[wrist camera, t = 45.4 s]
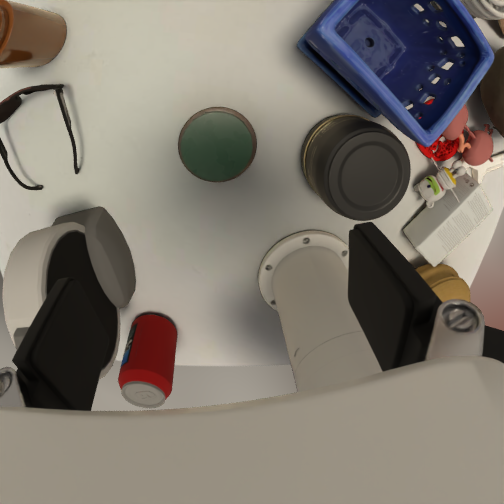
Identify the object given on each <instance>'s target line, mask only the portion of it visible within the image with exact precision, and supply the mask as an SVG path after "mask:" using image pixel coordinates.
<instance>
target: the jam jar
mask: <svg viewBox="0 0 504 504" xmlns="http://www.w3.org/2000/svg"><path fill="white" fill-rule="evenodd" d="M66 32H67V30H66V24H65V21H64V19H63V18H62V17H61V16H60V15H58V14H56V13H53V12H49V11H46V10H43V9H39V8H36V7H32V6H28V5H25V4H21V3H17V2H12V1H8V0H0V69H1V68H17V67H39V66H43V65H45V64H47V63H49V62H50V61H51V60H53V59H54V58H55V57H56V56H57V54H58V53H59V52H60V50H61V48H62V46H63V44H64V42H65V39H66Z"/></svg>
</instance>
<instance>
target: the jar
mask: <svg viewBox="0 0 504 504" xmlns="http://www.w3.org/2000/svg"><path fill="white" fill-rule="evenodd" d="M301 163H302V169H303V172H304V175H305V177H306V179H307V181H308V183H309V184H310V186H311V188H312V189H313V190H314V191H315V193H316V194H317V195H319V196H320V197H321V199H322V200H323V201H324V202H325V203H326V204H327V205H328V206H329V207H330V208H331V209H332V210H333V211H335V212H336V213H338V214H340V215H342V216H344V217H347V218H349V219H353V220H358V221H367V220H373V219H376V218H379V217H381V216H383V215H385V214H387V213H388V212H390V211H391V210H392V209H393V208H394V207H395V206H396V205H397V204H398V203H399V202H400V201H401V199H402V198H403V196H404V194H405V192H406V190H407V187H408V184H409V180H410V160H409V156H408V153H407V151H406V149H405V147H404V145H403V144H402V143H401V141H400V140H399V139H398V138H397V137H396V136H395V135H394V134H393V133H392V132H391V131H390V130H389V129H387V128H386V127H384V126H382V125H380V124H377V123H375V122H372V121H370V120H368V119H366V118H363V117H360V116H356V115H345V114H343V115H335V116H331V117H329V118H326V119H324V120H323V121H321V122H320V123H318V124H317V125H316V126H315V127H314V128H313V129H312V130H311V131H310V133H309V134H308V136H307V137H306V140H305V142H304V145H303V148H302V154H301Z"/></svg>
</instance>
